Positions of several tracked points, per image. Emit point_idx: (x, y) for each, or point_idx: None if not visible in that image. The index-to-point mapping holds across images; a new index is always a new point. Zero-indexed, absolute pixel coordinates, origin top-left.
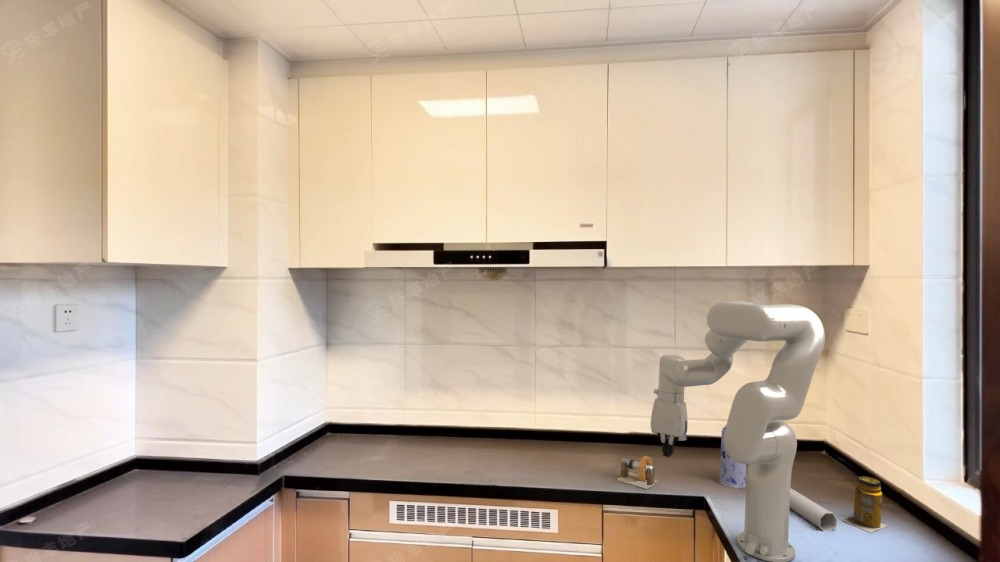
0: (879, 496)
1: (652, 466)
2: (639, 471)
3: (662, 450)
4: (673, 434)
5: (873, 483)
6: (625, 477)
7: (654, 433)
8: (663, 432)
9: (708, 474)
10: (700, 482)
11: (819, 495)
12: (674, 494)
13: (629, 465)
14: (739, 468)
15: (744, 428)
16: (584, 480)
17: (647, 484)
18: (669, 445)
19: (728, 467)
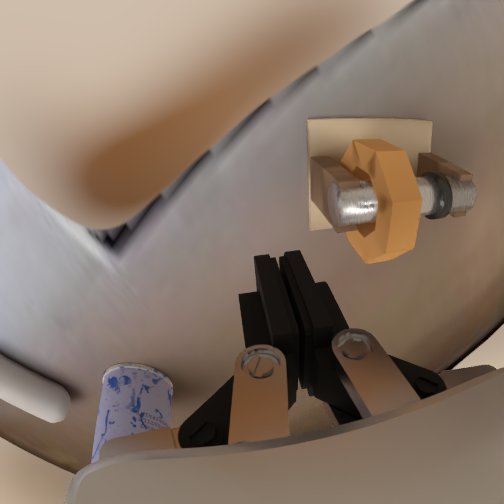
0: None
1: (344, 210)
2: (382, 144)
3: (325, 285)
4: (192, 477)
5: None
6: (416, 161)
7: (464, 368)
8: (394, 430)
9: (214, 388)
10: (195, 337)
11: (29, 418)
12: (195, 174)
13: (438, 173)
14: (98, 421)
15: None
16: (491, 54)
17: (324, 156)
18: (271, 339)
19: (121, 414)
